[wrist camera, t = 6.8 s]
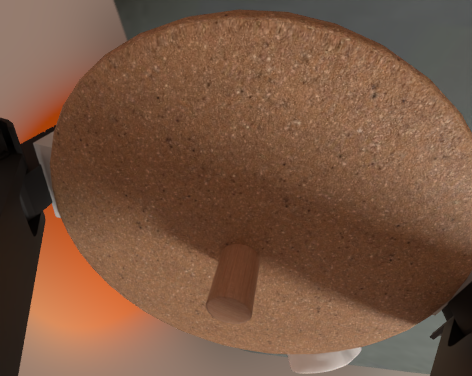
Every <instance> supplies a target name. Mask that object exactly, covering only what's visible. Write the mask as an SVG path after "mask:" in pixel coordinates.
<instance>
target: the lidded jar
mask: <svg viewBox="0 0 472 376" xmlns="http://www.w3.org/2000/svg"><path fill="white" fill-rule="evenodd" d="M50 171H51V181H52V189H53V193H54V197H55V201H56V205H57V209H58V212H59V214H60V217H61V219H62V221H63V223H64V225H65V227H66V229H67V232H68V233H69V235H70V237H71V239H72V240H73V242H74V243H75V245H76V247H77V248H78V250H79V252H80V253H81V254H82V255H83V257H84V258H85V259H86V260H87V261H88V263H89V264H90V265H91V266H92V268H93V269H94V270H95V271H96V272H97V273H98V274H99V275H100V276H101V277H102V278H103V279H104V280H105V281H106V282H107V283H108V284H109V285H110V286H111V287H112V288H114V289H115V290H116V291H118V292H119V293H120V294H121V295H122V296H124V297H125V298H126V299H127V300H129V301H130V302H132V303H133V304H135V305H136V306H138V307H139V308H140V309H142V310H143V311H145V312H147V313H148V314H150V315H152V316H154V317H156V318H157V319H159V320H161V321H163V322H165V323H167V324H169V325H171V326H173V327H175V328H177V329H179V330H181V331H184V332H186V333H189V334H192V335H195V336H197V337H200V338H203V339H206V340H209V341H212V342H215V343H219V344H222V345H226V346H230V347H235V348H240V349H245V350H251V351H258V352H264V353H276V354H320V353H329V352H338V351H343V350H348V349H354V348H359V347H363V346H366V345H369V344H373V343H376V342H379V341H382V340H385V339H387V338H390V337H392V336H394V335H397V334H399V333H401V332H404V331H406V330H409V329H410V328H412V327H413V326H415V325H416V324H418V323H420V322H421V321H423V320H424V319H426V318H428V317H429V316H431V315H432V314H433V313H434V312H436V311H437V310H438V309H439V308H440V307H442V306H443V305H444V304H445V303H447V302H448V301H449V300H450V299H451V298H452V297H453V296H454V294H455V293H456V292H457V291H458V289H459V288H460V287H461V286H462V284H463V283H464V282H465V281H466V279H467V278H468V276H469V274H470V273H471V271H472V132H471V131H470V129H469V127H468V125H467V123H466V122H465V120H464V118H463V116H462V114H461V113H460V112H459V111H458V110H457V109H456V108H455V106H454V105H453V104H452V103H451V102H450V101H449V100H448V99H447V98H446V96H445V95H444V94H443V93H442V92H441V91H440V90H439V89H438V88H437V86H436V85H435V84H434V83H433V82H432V81H431V80H430V79H429V78H428V77H426V76H425V75H424V74H422V73H421V72H419V71H418V70H417V69H415V68H414V67H412V66H411V65H410V64H408V63H407V62H406V61H404V60H403V59H401V58H400V57H399V56H397V55H396V54H394V53H393V52H392V51H390V50H389V49H388V48H386V47H385V46H383V45H381V44H379V43H377V42H375V41H373V40H370V39H368V38H366V37H364V36H362V35H359V34H357V33H355V32H353V31H351V30H348V29H346V28H344V27H342V26H340V25H337V24H335V23H331V22H326V21H322V20H318V19H314V18H310V17H306V16H302V15H298V14H293V13H289V12H276V11H256V10H233V11H226V12H219V13H212V14H204V15H197V16H191V17H186V18H183V19H180V20H177V21H174V22H171V23H169V24H166V25H163V26H160V27H157V28H154V29H151V30H149V31H146V32H143V33H140V34H138V35H137V36H135V37H133V38H132V39H130V40H128V41H127V42H125V43H124V44H122V45H120V46H119V47H117V48H115V49H114V50H112V51H110V52H109V53H107V54H106V55H104V56H103V58H101V59H100V60H99V61H98V62H97V63H96V64H95V65H94V66H93V67H92V68H91V69H90V70H89V71H88V72H87V73H86V74H85V75H84V76H83V77H82V78H81V79H80V80H79V82H78V83H77V85H76V86H75V88H74V90H73V91H72V93H71V94H70V96H69V97H68V99H67V100H66V102H65V104H64V105H63V108H62V111H61V113H60V116H59V119H58V122H57V125H56V127H55V130H54V134H53V142H52V150H51V158H50Z"/></svg>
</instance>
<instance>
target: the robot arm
mask: <svg viewBox="0 0 472 376" xmlns="http://www.w3.org/2000/svg"><path fill="white" fill-rule="evenodd" d="M55 127H56V125H55V126H54V127H52V128H49V129H47V130H46V131H45V132H42V133H40V134H38V135H37V136H35V137H33V138H31V139H29V140H27V141H26V142H24V143H22V144H20V143H19V140H18V137H17V134H16V131H15V128H14V125H13V123H12V122H10V121H9V120H7V119H3V118H0V376H18V373H19V367H20V361H21V356H22V350H23V345H24V339H25V333H26V327H27V321H28V316H29V311H30V305H31V299H32V294H33V288H34V282H35V277H36V271H37V265H38V259H39V254H40V248H41V243H42V237H43V232H44V225H45V215H44V213H43V210H44V209H45V208H47V207H48V206H49V205H50V204H51V203H52V205H53V208H54V212H55V215H56V217H59V218H61V217H60V214H59V212H58V209H57V205H56V201H55V197H54V193H53V189H52V181H51V171H50V158H51V150H52V142H53V134H54V130H55ZM446 305H449V308H450V310H451V312H452V314H453V317H452V318H450V319H449V320H448V321H447V322H445V323H444V324H443V325H442V326H441V327H439V328H438V329H437V330H436V331H435V332H433V333H432V335H431V336H430V338H432V339H433V340H434V339H435V338H436V337H438V336H441V339H440V343H439V346H438V350H437V353H436V357H435V360H434V364H433V367H432V371H431V374H430V376H472V271H471V273H470V274H469V276H468V278H467V279H466V281H465V282H464V283H463V284H462V286H461V287H460V288H459V289H458V291H457V292H456V293H455V294H454V296H453V297H452V298H451V299H450V300H449V301H448V302H447V303H445V304H444V305H443V306H442V307H440V308H439V309H438V310H437V311H436V312H434V313H433V314H432V315H436V314H437V313H439V312H440V311H441V310H442V309H443V308H444V307H445V306H446Z"/></svg>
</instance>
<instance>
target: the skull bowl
mask: <svg viewBox="0 0 472 376" xmlns="http://www.w3.org/2000/svg"><path fill="white" fill-rule="evenodd" d="M360 352H361V347H359V348H354V349H348V350H343V351H338V352H329V353H320V354H288V357H289V364H290V368H291V370H292V371H294V372H297V373H319V372H326V371H331V370H334V369H337V368H340V367H343V366H345V365H347V364H348V363H350V362H351V361H352V360H353V359H354V358H355V357H356V356H357V355H358V354H359V353H360Z"/></svg>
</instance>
